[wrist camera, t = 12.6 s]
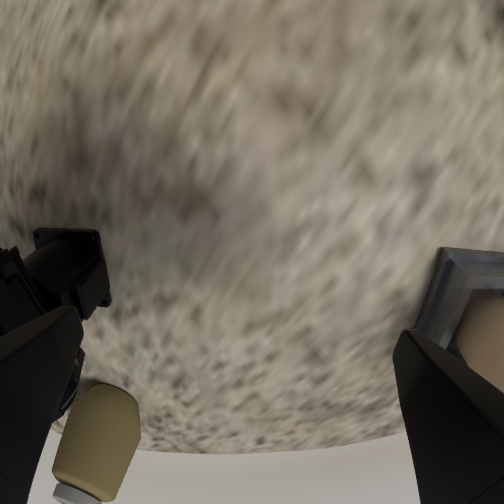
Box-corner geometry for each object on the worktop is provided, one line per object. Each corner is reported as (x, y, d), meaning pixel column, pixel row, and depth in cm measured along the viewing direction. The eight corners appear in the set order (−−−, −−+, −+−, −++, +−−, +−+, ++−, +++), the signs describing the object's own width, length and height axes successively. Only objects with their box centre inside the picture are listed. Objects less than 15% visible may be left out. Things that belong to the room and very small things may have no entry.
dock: (402, 356, 25) (414, 383, 22) (442, 247, 20) (465, 269, 17) (484, 347, 25) (498, 369, 22) (525, 255, 20) (546, 273, 17)
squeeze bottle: (98, 414, 31) (54, 534, 15) (72, 371, 28) (7, 505, 12) (157, 423, 31) (124, 560, 15) (136, 379, 28) (82, 543, 11)
